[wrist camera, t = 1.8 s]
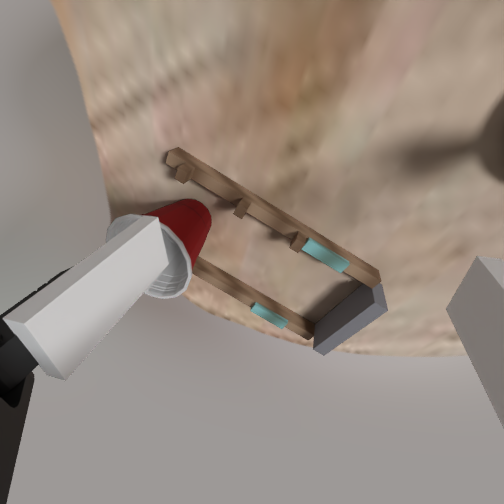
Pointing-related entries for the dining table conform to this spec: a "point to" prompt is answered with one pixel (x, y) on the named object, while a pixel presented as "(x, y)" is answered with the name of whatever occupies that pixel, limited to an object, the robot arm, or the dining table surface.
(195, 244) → the plastic cup
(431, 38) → the dining table surface
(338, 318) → the end stop
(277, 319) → the comb channel
